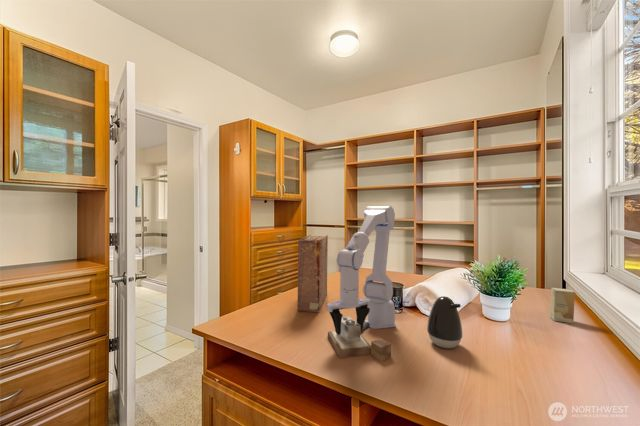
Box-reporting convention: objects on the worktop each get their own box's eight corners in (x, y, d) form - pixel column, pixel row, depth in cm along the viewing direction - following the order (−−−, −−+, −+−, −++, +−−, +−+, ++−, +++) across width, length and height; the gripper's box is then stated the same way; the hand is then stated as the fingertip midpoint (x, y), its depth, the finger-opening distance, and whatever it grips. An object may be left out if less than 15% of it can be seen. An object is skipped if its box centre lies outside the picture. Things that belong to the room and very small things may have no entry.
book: (309, 293, 139) (309, 234, 139) (327, 294, 137) (327, 235, 137) (297, 311, 114) (298, 239, 114) (319, 313, 112) (320, 240, 112)
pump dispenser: (448, 356, 80) (448, 304, 79) (420, 341, 89) (420, 294, 89) (470, 348, 84) (470, 299, 84) (441, 334, 93) (442, 290, 93)
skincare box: (553, 321, 106) (554, 289, 106) (549, 317, 110) (549, 287, 110) (574, 323, 104) (575, 291, 104) (569, 319, 108) (570, 289, 108)
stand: (356, 334, 93) (356, 327, 93) (372, 354, 80) (372, 346, 80) (327, 337, 90) (327, 330, 90) (339, 358, 78) (339, 350, 78)
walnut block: (380, 351, 82) (380, 338, 82) (390, 357, 79) (391, 343, 79) (370, 355, 80) (371, 341, 80) (381, 361, 76) (381, 347, 76)
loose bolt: (364, 325, 100) (364, 318, 101) (370, 327, 99) (370, 319, 99) (355, 331, 96) (355, 323, 96) (362, 332, 94) (361, 324, 94)
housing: (348, 331, 90) (348, 314, 90) (360, 341, 83) (360, 323, 83) (336, 333, 88) (336, 316, 88) (347, 344, 81) (347, 325, 81)
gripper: (362, 282, 92) (362, 323, 92) (323, 286, 86) (322, 329, 86) (374, 288, 85) (374, 331, 85) (332, 293, 80) (332, 339, 80)
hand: (348, 331), depth 85 cm, fingers open, 7 cm apart
